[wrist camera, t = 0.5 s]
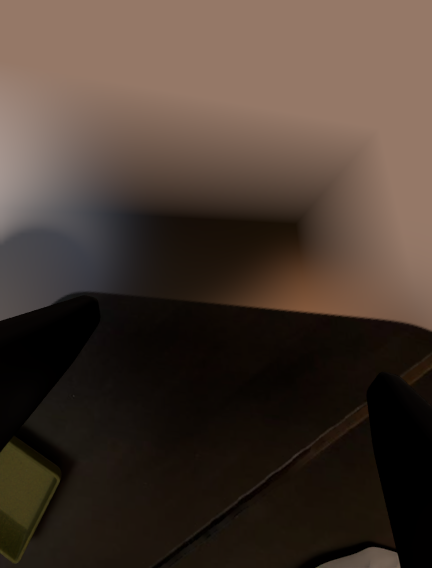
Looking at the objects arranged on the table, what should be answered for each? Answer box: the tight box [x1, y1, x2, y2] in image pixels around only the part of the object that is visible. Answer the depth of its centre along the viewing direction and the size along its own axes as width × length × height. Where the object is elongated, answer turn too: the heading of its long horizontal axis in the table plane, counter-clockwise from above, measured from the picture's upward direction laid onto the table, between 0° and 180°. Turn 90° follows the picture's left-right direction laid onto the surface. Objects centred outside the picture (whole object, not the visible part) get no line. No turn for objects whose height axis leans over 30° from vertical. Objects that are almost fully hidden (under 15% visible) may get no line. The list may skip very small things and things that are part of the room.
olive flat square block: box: [0, 436, 61, 563], centre depth 23 cm, size 9×9×2 cm
